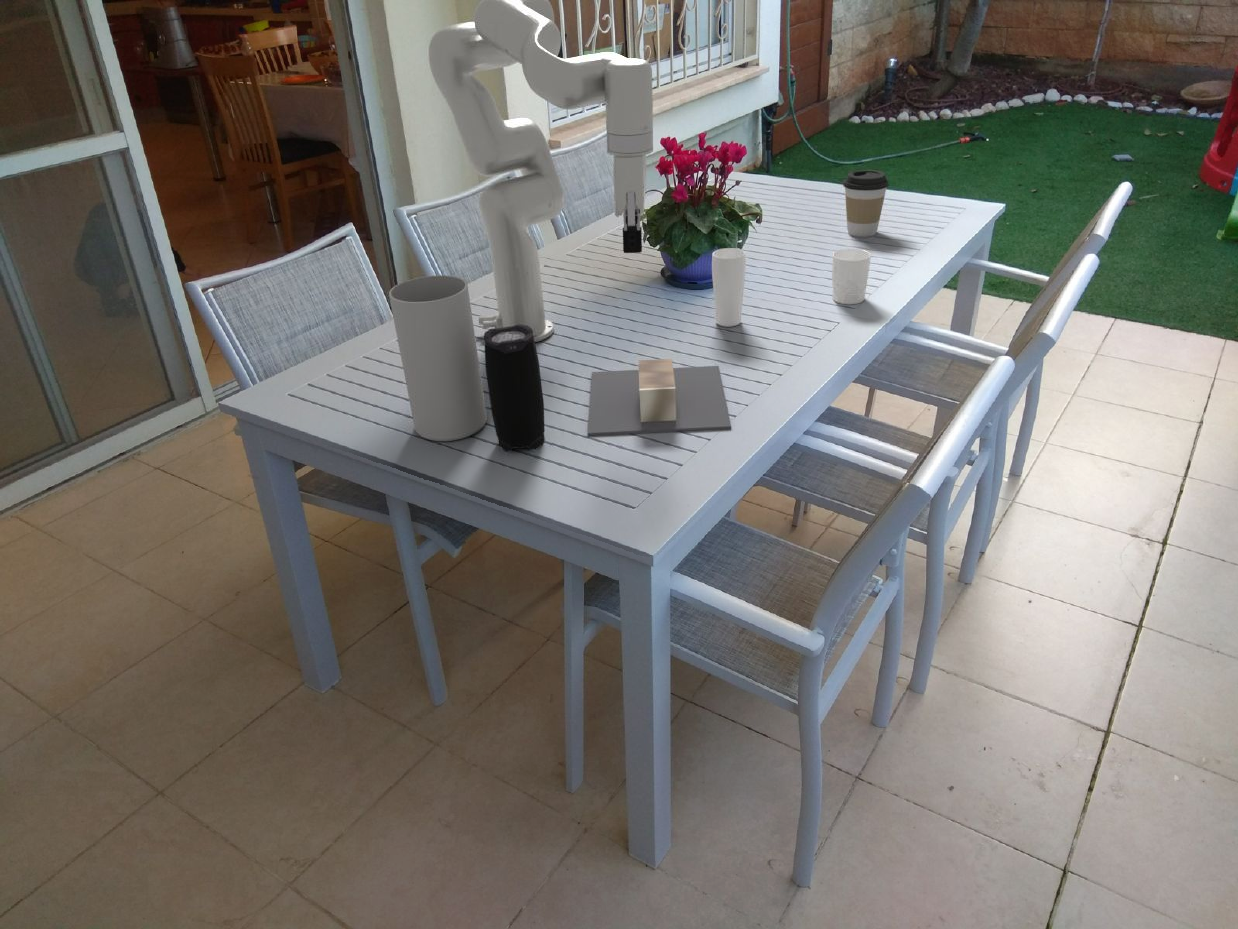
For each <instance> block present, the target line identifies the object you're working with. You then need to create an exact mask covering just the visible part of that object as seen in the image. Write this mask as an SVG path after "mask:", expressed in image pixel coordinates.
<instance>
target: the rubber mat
mask: <svg viewBox="0 0 1238 929" xmlns="http://www.w3.org/2000/svg"><path fill="white" fill-rule="evenodd" d="M673 371H674V380H675V392H676V420H674V421H653V422H641V413H640V393H639V369H626V370H625V369H623V370H608V371H605V370H604V371H592V372H591V380H590V381H591V382H590V394H589V408H588V420H587V421H588V423H587V437H588V436H604V435H605V436H606V435H607V436H610V435H630V434H632V435H633V434H649V433H650V434H651V433H665V432H666V433H668V432H669V433H671V432H672V433H673V432H689V431H690V432H691V431H694V432H695V431H711V430H712V431H713V430H714V431H716V430H717V431H718V430H731V429H732V423H731V419H730V414H729V409H728V405H727V404H728V403H727V399H726V395H725V390H724V385H723V380H722V375H721V370H720V366H719V365H708V366H707V365H706V366H689V367H688V366H687V367H684V366H683V367H673Z"/></svg>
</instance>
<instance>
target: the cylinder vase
mask: <svg viewBox="0 0 1238 929" xmlns="http://www.w3.org/2000/svg"><path fill="white" fill-rule="evenodd" d="M388 297H389V301H390V307H391V312H392V317H393V323H394V328H395V333H396V338H397V344H398V348H399V354H400V358H401V359H400V360H401V364H402V369H403V374H404V375H403V376H404V380H405V385H406V389H407V394H408V401H409V406H410V411H411V416H412V417H411V418H412V421H413V426H414V430H415V432H416V433H417V434H418V435H419V436H420V437H422V438H424V439H426V440H430V441H434V442H450V441H451V442H452V441H458V440H461V439H465V438H469V437H470V436H472V435H474V434H476V433H478V432H480V430H482V429H483V428H484V426H485V425H486V422H487V420H488V419H487V418H488V415H487V409H486V408H487V407H486V401H485V395H484V388H483V382H482V381H483V380H482V375H481V368H480V361H479V354H478V347H477V340H476V334H475V326H474V320H473V313H472V306H471V299H470V293H469V286H468V282H467V280H465V279H464V278H461V277H458V276H455V275H443V274H442V275H441V274H440V275H437V274H436V275H427V276H420V277H415V278H412V279H408V280H405V281H402V282H399V283H398V284H396V285H394V286H393V287H391V289H390V290H389V292H388Z"/></svg>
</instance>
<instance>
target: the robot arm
mask: <svg viewBox="0 0 1238 929" xmlns="http://www.w3.org/2000/svg"><path fill="white" fill-rule="evenodd" d="M561 45H562V36H561V32H560V29H559V27H558V25H556V23H555V13H554V9H553V6H552V4H551V3H550V1H549V0H481V1H480V2H478V5H476V8H475V10H474V14H473V21H468V22H461V23H455V24H452V25H448V26H445V27H443V28H441V29H439V30H438V31H437V32H435V33H434V34H433V36H432V37H431V39H430V42H429V46H428V62H429V67H430V71H431V73H432V76H433V79H434V82H435V83H436V86H437V88H438V89H439V91H440V93H441V95H442V97H443V98H444V99H445V101H446V104H447V106H448V107H449V109H450V111H451V114H452V115H453V118H454V119H453V120H454V122H455V124H456V127H457V130H458V132H459V135H460V139H461V140H462V143H463V147H464V148H465V152H466V154H467V156H468V160H469V162H470V164H471V167H472V168H473V170H474V171H475V173H477V174H478V175H479V176H482V177H495V176H499V175H500V176H501V175H504V174H507V173H511V172H514V171H515V172H516V171H520V173H521V176H516V177H512V178H509V179H505V180H501V181H498V182H495V183H493V184H491V185H489V186H487V187H486V188H485V189H484V190H483V191H482V192H481V195H480V196H479V201H478V207H479V212H480V216H481V220H482V222H483V225H484V228H485V229H484V230H485V232H486V236H487V240H488V244H489V251H490V259H491V264H492V265H491V266H492V272H493V279H494V288H495V289H494V290H495V295H496V296H495V297H496V303H497V313H493V315H478V323H479V324H478V325H480V326H483V329H489V328H490V329H491V328H495V329H497V328H503V327H510V326H515V325H518V324H520V325H527V326H529V327H530V328H532V331H533V337H534V341H535V343H537V342H541V341H543V340H546V339H548V338H550V336H551V335H553V333H554V332H555V331H554V328H555V326H554V324H553V322H552V321H551V320H548V319H546V315H545V314H546V313H545V305H544V304H545V303H544V295H543V286H542V276H541V275H542V274H541V265H540V264H541V263H540V257H539V256H540V255H539V250H538V246H537V244H536V242H535V240H533V239H532V237H531V235H529V233H528V232H527V228H528V227H531V226H533V225H537V224H541V223H543V222H546V221H549V220H551V219H554V218H557V217H558V216H559V215H560V214H561V213H562V211H563V210H564V204H565V196H564V191H563V186H562V182H561V180H560V177H559V174H558V171H557V167H556V165H555V162H554V160H553V156H552V154H551V150H550V147H549V145H548V142H547V140H546V137H545V135H544V132H543V131H542V129H541V128H540V127H539V125H538V124H537V123H536V122H534V121H533V120H532V119H530V118H526V117H514V118H510V119H505V120H504V119H503V117H502V116H501V114H500V111H499V109H498V107H497V103H496V100H495V98H494V96H493V94H492V93H491V92H490V90H489V89H487V87H486V86H485V85H484V84H483V83H482V82H481V81H480V80H478V79H477V78H476V77H475V76H474V73H477V72H485V71H489V70H494V69H500V68H506V67H510V66H513V65H515V64H517V63H519V64H521V68H522V72H523V75H524V78H525V80H526V82H527V85H528V87H530V90H531V91H532V92H534V94H536V95H537V96H538V97H540V98H541V99H543V100H545V101H546V102H548V103H549V104H551V105H552V106H555V107H558V108H560V109H562V110H576V109H577V110H578V109H581V108H585V107H590V106H594V105H600V104H601V105H602V104H605V125H606V126H605V127H606V129H605V130H606V150H607V151H606V152H607V154H609V155H611V156H613V165H612V166H613V168H612V169H613V170H612V171H613V196H614V198H613V199H614V201H613V203H614V204H613V205H614V216H615V217H616V218H619V216H623V227H622V251H623V253H624V254H638V253H639V254H640V253H642V251H643V240H642V238H643V234H642V230H643V229H642V226H641V217H642V216H643V215H644V213H645V203H646V188H647V155H650V154H651V153H653V152H654V130H653V129H654V123H653V122H654V119H653V115H654V112H653V109H654V108H653V106H654V105H653V104H654V103H653V101H654V100H653V67H652V66H651V64H650V62H649V61H647V60H645V59H642V58H631V57H630V58H627V57H625V56H624V55H621V54H618V53H615V52H612V51H604V52H598V53H593V54H585V55H579V56H575V57H574V56H573V57H569V58H561V57H558V55H559V54H560V50H561Z"/></svg>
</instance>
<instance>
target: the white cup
mask: <svg viewBox="0 0 1238 929" xmlns="http://www.w3.org/2000/svg"><path fill="white" fill-rule="evenodd" d="M871 256H872V254H871V252H869V251H867V250H864V249H861V248H860V249H859V248H842V249H838V250H836V251H833V253H832V268H831V270H832V273H831V275H832V277H831V278H832V284H831V285H832V299H833V301H834V302H836V303H838V304H842V305H856V304H860V303H862V302H864V301H865V297H866V289H867V285H868V279H869V272H870V265H871Z"/></svg>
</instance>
